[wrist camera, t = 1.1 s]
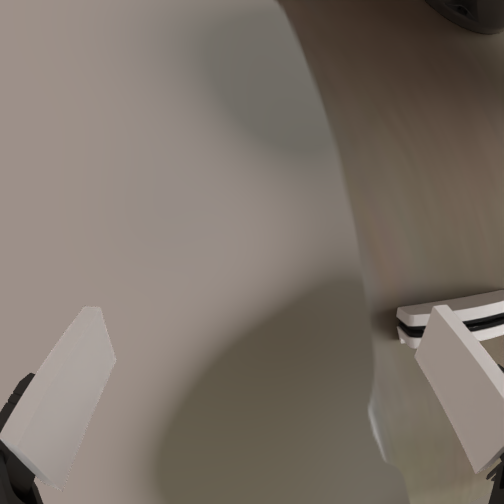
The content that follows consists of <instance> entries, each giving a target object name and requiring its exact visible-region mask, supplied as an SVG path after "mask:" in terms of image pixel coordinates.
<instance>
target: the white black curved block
mask: <svg viewBox="0 0 504 504" xmlns="http://www.w3.org/2000/svg"><path fill="white" fill-rule="evenodd" d="M438 305H448V307H449V308H450V309H451V310H452V311H453V312H454V313H455V314H456V316H457V317H458V318H459V319H460V320H461V321H462V322H463V324H464V325H465V326H466V327H467V328H468V330H469V331H470V332H471V333H472V334H473V335H474V337H475V338H476V339H477V340H478V341H481V340H486V339H490V338H493V337H497V336H500V335H503V334H504V289H503V290H498V291H493V292H488V293H483V294H478V295H473V296H467V297H461V298H456V299H450V300H444V301H437V302H431V303H425V304H418V305H411V306H404V307H398V309H397V315H396V317H398V318H399V320H400V321H401V322H402V323H399V326H397V329H398V334H399V339H400V343H406V344H407V345H408V346H409V347H411V348H418V346H419V344H420V341H421V339H422V336H423V333H424V331H425V328H426V325H427V322H428V320H429V317H430V314H431V311H432V308H433V306H438Z"/></svg>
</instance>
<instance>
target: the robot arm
mask: <svg viewBox="0 0 504 504" xmlns="http://www.w3.org/2000/svg"><path fill="white" fill-rule="evenodd" d="M425 1H426V2H427V3H428V4H429V5H430V6H432V7H433V8H434V9H435V10H436V11H437V12H439V13H440V14H441V15H443V16H444V17H446V18H447V19H449V20H450V21H452V22H454V23H456V24H457V25H459V26H461V27H464V28H466V29H469V30H471V31H474V32H478V33H484V34H496V33H500V32H502V31H504V0H425ZM414 357H415V359H416V360H417V362H418V364H419V365H420V367H421V369H422V371H423V372H424V374H425V376H426V378H427V379H428V381H429V383H430V385H431V386H432V388H433V390H434V392H435V394H436V395H437V397H438V399H439V401H440V403H441V405H442V407H443V408H444V410H445V412H446V414H447V416H448V418H449V420H450V422H451V424H452V426H453V428H454V430H455V432H456V434H457V436H458V438H459V440H460V442H461V444H462V446H463V448H464V450H465V452H466V454H467V456H468V459H469V461H470V463H471V465H472V467H473V470H474V472H475V474H476V473H478V472H480V471H482V470H484V469H486V468H488V467H490V466H491V465H492V464H493V463H494V462H495V461H496V460H497V459H498V458H499V457H500V459H501V461H502V462H500V463H499V464H498V465H497V466H496V467H495V468H494V469H493V470H492V471H491V472H490V473H489V474H488V475H487V478H486V479H487V480H488V479H489V478H491V477H492V476H493V475H494V474H495V473H496V475H495V476H494V477H493V478H492V479H491V481H494V485H493V489H492V493H491V497H490V500H489V504H504V368H503V367H502V366H500V365H499V364H498V365H497V364H496V363H495V362H494V360H493V359H492V358H491V356H490V355H489V354H488V353H487V351H486V350H485V349H484V348H483V346H482V345H481V344H480V343H479V341H478V340H477V339H476V338H475V337H474V335H473V334H472V333H471V332H470V331H469V330H468V328H467V327H466V326H465V325H464V324H463V322H462V321H461V320H460V319H459V318H458V317H457V316H456V314H455V313H454V312H453V311H452V310H451V309H450V308H449V307H448V305H438V306H433V308H432V311H431V314H430V317H429V320H428V322H427V325H426V328H425V331H424V333H423V336H422V339H421V341H420V344H419V346H418V349H417V351H416V354H415V356H414ZM116 361H117V360H116V357H115V354H114V351H113V348H112V345H111V341H110V338H109V335H108V331H107V328H106V325H105V322H104V318H103V314H102V310H101V308H100V307H92V306H84V307H83V308H82V310H81V311H80V312H79V314H78V315H77V317H76V318H75V319H74V320H73V322H72V323H71V325H70V326H69V327H68V328H67V330H66V331H65V333H64V334H63V335H62V337H61V338H60V340H59V341H58V342H57V344H56V345H55V347H54V348H53V349H52V351H51V352H50V354H49V355H48V357H47V358H46V360H45V361H44V363H43V364H42V366H41V367H40V369H39V370H38V372H37V373H36V374H33V373H30V374H28V375H27V376H26V377H25V378H23V379H22V380H21V381H20V382H19V384H18V385H17V387H16V388H15V390H14V391H13V394H11V396H10V397H9V399H8V403H6V404H5V405H4V407H3V409H2V411H1V412H0V504H43V502H42V499H41V496H40V494H39V491H38V488H37V486H36V484H35V482H34V478H35V476H36V477H37V478H39V479H40V480H41V481H42V482H43V483H44V484H47V485H49V486H51V487H53V488H56V489H58V490H61V491H63V489H64V487H65V484H66V481H67V478H68V475H69V472H70V470H71V467H72V464H73V461H74V459H75V456H76V454H77V451H78V449H79V446H80V443H81V441H82V438H83V436H84V433H85V431H86V429H87V426H88V424H89V421H90V419H91V417H92V414H93V412H94V409H95V407H96V405H97V402H98V400H99V398H100V396H101V393H102V391H103V389H104V386H105V384H106V382H107V380H108V378H109V375H110V374H111V371H112V369H113V367H114V365H115V363H116Z"/></svg>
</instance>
